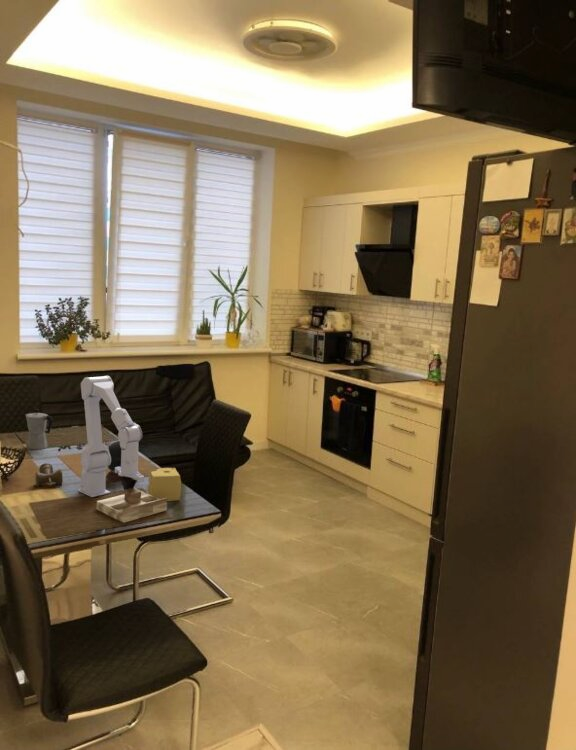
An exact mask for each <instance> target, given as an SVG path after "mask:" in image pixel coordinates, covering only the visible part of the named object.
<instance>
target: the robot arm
mask: <svg viewBox="0 0 576 750" xmlns="http://www.w3.org/2000/svg"><path fill="white" fill-rule="evenodd" d="M114 386H115V384H114V382H113V379H112V377H111V376H109V375H103V376H93V377H92V376H90V377H88V376H86V377H84V378H83V379H82V381H81V382H80V391H81V399H82V400H83V401H84V402H83V404H84V415H85V426H86V427H85V428H86V437H87V445H86V446H85V447H84V448H83V449H82V450H81V451H80V452H81V456H80V466H81V468H82V470H81V473H80V488H79V489H78V492H80V493H82V494H84V495H87V496H88V497H91V498H94V497H100V496H103V495H107V494H110V493H111V491H109V490H108V489H106V486H107V485H106V483H107V482H106V480H107V470H108V469H109V468H108V466H109V465H110V463H111V456H110V453H109V448H108V447H109V446H107V445H105V444H104V443H103V434H102V424H101V423H102V422H101V410H100V401H101V400H102V401H104V403H105V405H106V406H107V407H108V409H109V410H110V412H111V416H110V418H111V420H112V422H113V423H114V425H115V427H116V429H117V430H118V433H117V436H118V438H117V439H118V441H120V447H121V467H120V466H119V467H115V473H118V475H119V476H123V477H122V478H120V481H119V482H120V483H121V485H122V487H123V492H124V493H125V490H126V489H130V488H134V487H135V485H136V484H137V483H143V482H145V476H144V475H143V474H141V473H140V472H139V469H138V468H139V467H138V466H139V442H140V441H141V440H142V438H143V431H142V428H141V426H140V425H139V424H137V423H136V422H134V421H133V420H132V418H131V416H130V415H129V413H128V411H127V410H126V409H125V408H122V407H121V405H120V402H119V400H118V398H117V396H116V394H115V392H114V388H115V387H114Z"/></svg>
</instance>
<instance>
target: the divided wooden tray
mask: <svg viewBox="0 0 576 750" xmlns="http://www.w3.org/2000/svg"><path fill="white" fill-rule="evenodd" d="M140 491H141V501H140V502H139V503H135V504H129V503H128V502H126V501H125V500H124V497H125V493H122V494H120V495H116V496H112V497H107V498H105V499H101V500H100V499H99V500H96V510H97V511H99V512H101V513H103V514H105V515H107V516H109V517H110V518H113V519H115V520H117V521H119V522H122V524H125V523H128V522H131V521H134V520H135V521H136V520H138V519H141V518H145V517H148V516H151V515H154V514H158V513H161V512H166V511H167V510H168V501H167V498H163V499H159V498H156V497H154V496H152V495H149V494H148V492H144V491H142V490H140Z"/></svg>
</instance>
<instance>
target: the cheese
mask: <svg viewBox="0 0 576 750" xmlns="http://www.w3.org/2000/svg"><path fill="white" fill-rule="evenodd" d="M181 492H182V480H181V475H180V474H179V472H178V471H177V469H176V467H162V468H157V469H156V470H153V471H152V470H151V471H150V473H149V474H148V485H147V494H149V495H152V496H154V497H156V498H159V499H163V498H167V502H171V501H172V502H173V501H180V498H181V494H182V493H181Z"/></svg>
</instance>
